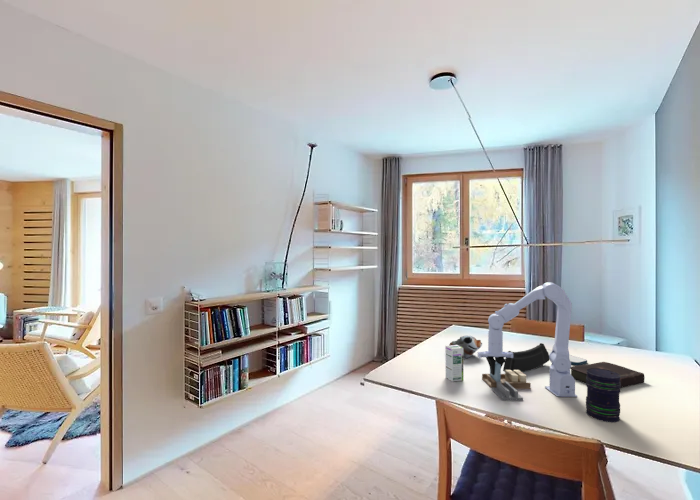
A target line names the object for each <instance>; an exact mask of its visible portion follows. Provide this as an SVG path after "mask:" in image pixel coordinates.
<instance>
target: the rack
mask: <svg viewBox="0 0 700 500" xmlns="http://www.w3.org/2000/svg"><path fill="white" fill-rule="evenodd" d="M481 379H482V380H483V381H484V382H485V384H487V386H489V387H490V389H492V388H497V382H496V381H495V380H494V379H493V378H492V377H491V376H490V373H481ZM504 382H508V381H507V380H506V379H505V373H501V382H500V383H501V384H502V385H503V386H504ZM508 383H509V384H510V385H511V386H513V387H514V388H515V389H516V390H517V389H519V390H531V389H532V388H531V386H532V385H531V382H526V383H518V382H508Z"/></svg>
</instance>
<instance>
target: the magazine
mask: <svg viewBox="0 0 700 500" xmlns="http://www.w3.org/2000/svg"><path fill="white" fill-rule="evenodd" d="M547 349H548V348H546V346H545V344H544V343H539V344H538V345H536V346H534V347H532V348H529V349H526V350H520V351H512V350H508V351H507V352H512V353H513V358H510V357H504V359H505V362H504V363H503V367H502V368H503V369H502V371H503V372H504V373H505V370H512V371H513V370H520V371H521V372H522V373H524V372H530V371H531V370H535V369H537V368H539V367H541V366H543V367H544V365H546V363H548V362H549V361H550V359H549V354H548V352H547Z"/></svg>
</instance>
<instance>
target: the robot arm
mask: <svg viewBox="0 0 700 500" xmlns="http://www.w3.org/2000/svg"><path fill="white" fill-rule="evenodd" d="M546 299H549V300H550V301H552V303H554V304H555V305H556V317H555V318H556V320H555V329H554V330H555V332H554V343H553V346H552V349H551V350H552V352H551V353H550V355H549V361H550V363H551V365H550V366H549V385H547V386H544V388H545V389H546V390H548V391H549V392H550V393H551V394H553V395H555V396H556V397H569V398H571V397H573V398H575V397H576V398H577V397H578V395H577V394H576V380H575V379H574V378H573V376H572V375H571V369H570V368H571V367H572V365H571V362H570V359H569V355H570V351H569V343H570V342H569V339H570V330H571V318H572V309H573V303H572V302H571V300H570V298H569V297H568V295H567V293H566V291H565V289H563V288H562V287H561V286H559V284H556V283H554V282H552V281H551V282H550V281H548V282H545V283H543V284H542V285H539V286H537V287H535V288H534V289H532V290H531V291H530V292H528V293H527V294H526V295H524V296H523V297H521V298H520V299H519V300H517V301H516V302H515V303H512V302H509V303H505V304H504V305H503V307H502V308H501V309H498V310H496V311H494V313H492V314H490V315H489V316H488V319H487V322H488V333H487V337H488V339H487V341H488V342H487V343H488V345H487V346H488V347H487V351H478V352H477V358H479V359H481V358H485V359H486V360H487V363H488V366H489V371H490V370H491V374H492V375H494V374H495V362H498V363H499V364H500V365H501V368H503V366H504V363H505V358H506V357H510V358H513V353H512V352H513V351H511V352H508V351H503V349H504V348H503V346H504V345H503V343H504V342H503V335H504V332H503V327H504V324H506V323H508V322H510V321H511V320H513V319H514V318H516V317H517V316H519V315H520V310H522V309H524V308H525V307H527V306H529V305H531V304H532V303H533V302H535V301H537V300H546Z"/></svg>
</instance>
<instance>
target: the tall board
mask: <svg viewBox="0 0 700 500" xmlns="http://www.w3.org/2000/svg"><path fill="white" fill-rule="evenodd" d="M501 369H502V367H501V365H500V364H499V363H498V362H495V374H494V375H492V374H491V370H490V369H489V374H490V376H491V377H492V378H493V379H494V380H495V381H496V382H497V381H499V382H501V374H502V373H501V372H502V371H501Z"/></svg>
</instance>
